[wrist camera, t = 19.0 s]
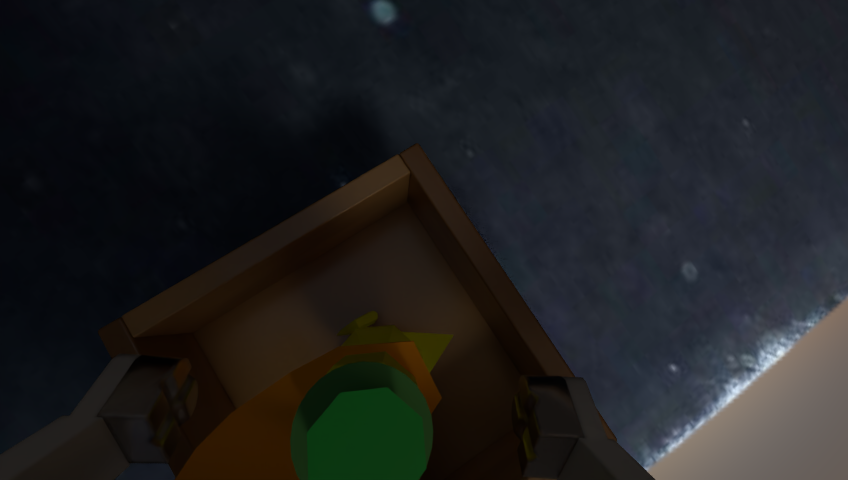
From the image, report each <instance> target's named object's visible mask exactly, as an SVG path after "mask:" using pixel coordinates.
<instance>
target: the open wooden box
mask: <svg viewBox="0 0 848 480" xmlns="http://www.w3.org/2000/svg"><path fill="white" fill-rule="evenodd" d="M371 311H375V312H376V313H377V314H378V318H377V320H376V321H375V323H374V324H372V325H370V326H368V327H374V326H386V325H395V326H396V327H397V328H398V329H399V330H400V331H401V332H414V333H432V334H449V335H453V337H452V339H451V340H450V342H449V343H448V345H447V347H446V348H445V350H444V351H443V353H442V354H441V356H440V358H439V359H438V361H437V362H436V364H435V365H434V367H433V369H432V370H431V372H430V375H431V377H432V379H433V381H434V383H435V385H436V387H437V389H438V391H439V393H440V395H441V397H442V399H441V400H440V402H439V403H438V405H437V406H436V408H435V409H434V411H433V412H432V414H431V417H432V425H433V442H432V449H431V453H430V456H429V460H428V464H427V466H426V467H427V469H426V470H425V471H424V473H423V474H422V476H421V477H420V479H419V480H557V479H544V478H529V477H522V473H521V467H520V462H519V457H518V452H517V449H518V446H519V443H520V441H521V440H520V439H519V438H518V437H517V436H516V435H515V433H514V431H513V425H512V416H511V411H512V401H513V398H514V395H515V394H516V393H518V392H519V391H520V390H519V385H518V383H519V380H520V377H521V376H522V375H548V376H561V377H575V376H574V374H573V373H572V371H571V370H570V368H569V367H568V365H567V364H566V362H565V361H564V359H563V358H562V356H561V355H560V353H559V352H558V350H557V349H556V347H555V346H554V344H553V343H552V341H551V340H550V338H549V337H548V336H547V334H546V333H545V331H544V330H543V328H542V327H541V325H540V324H539V322H538V321H537V319H536V318H535V316H534V315H533V313H532V312H531V310H530V309H529V307H528V306H527V304H526V303H525V301H524V300H523V298H522V297H521V295H520V294H519V292H518V291H517V289H516V288H515V286H514V285H513V283H512V282H511V280H510V279H509V277H508V276H507V274H506V273H505V271H504V270H503V268H502V267H501V265H500V264H499V263H498V261H497V260H496V258H495V257H494V255H493V254H492V252H491V251H490V249H489V248H488V246H487V245H486V243H485V242H484V240H483V239H482V237H481V236H480V234H479V233H478V231H477V230H476V228H475V227H474V225H473V224H472V222H471V221H470V219H469V218H468V216H467V215H466V213H465V212H464V210H463V209H462V207H461V206H460V204H459V203H458V201H457V200H456V198H455V197H454V195H453V194H452V192H451V191H450V190H449V188H448V187H447V185H446V184H445V182H444V181H443V179H442V178H441V176H440V175H439V173H438V172H437V170H436V169H435V167H434V166H433V164H432V163H431V161H430V160H429V158H428V157H427V155H426V154H425V152H424V151H423V149H422V148H421V146H420V145H419V144H418V143H416V144H414V145H413V146H411V147H409V148H407V149H406V150H404V151H402V152H401V153H400V154H399V155H398V154H397V155H395V156H393V157H392V158H390V159H388V160H387V161H385V162H383V163H381V164H380V165H378V166H376V167H375V168H373V169H371V170H369V171H368V172H366V173H364V174H363V175H361V176H359V177H358V178H356V179H354V180H352V181H351V182H349V183H347V184H346V185H344V186H342V187H341V188H339V189H337V190H335V191H334V192H332V193H330V194H329V195H327V196H325V197H323V198H322V199H320V200H318V201H317V202H315V203H313V204H312V205H310V206H308V207H306V208H305V209H303V210H301V211H300V212H298V213H296V214H295V215H293V216H291V217H289V218H288V219H286V220H284V221H283V222H281V223H279V224H277V225H276V226H274V227H272V228H271V229H269V230H267V231H266V232H264V233H262V234H260V235H259V236H257V237H255V238H254V239H252V240H250V241H249V242H247V243H245V244H243V245H242V246H240V247H238V248H237V249H235V250H233V251H231V252H230V253H228V254H226V255H225V256H223V257H221V258H220V259H218V260H216V261H214V262H213V263H211V264H209V265H208V266H206V267H204V268H203V269H201V270H199V271H197V272H196V273H194V274H192V275H191V276H189V277H187V278H185V279H184V280H182V281H180V282H179V283H177V284H175V285H174V286H172V287H170V288H168V289H167V290H165V291H163V292H162V293H160V294H158V295H157V296H155V297H153V298H151V299H150V300H148V301H146V302H145V303H143V304H141V305H139V306H138V307H136V308H134V309H133V310H131V311H129V312H128V313H126V314H124V315H123V316H122V317H120V318H118V319H116V320H114V321H113V322H111V323H109V324H108V325H106V326H104V327H102V328H101V329H99V330H98V334H99V336H100V338H101V339H102V341H103V343H104V345H105V347H106V349H107V351H108V352H109V354H110V356H111V358H112V359H113V358H114V357H116V356H117V355H118V354H137V355H150V356H164V357H177V358H188V359H189V362H190V364H191V366H192V368H191V370H190V372H189V374H190V375H191V376H192V377H194V378H195V379H196V381H197V384H198V398H197V402H196V407H195V409H194V411H193V413H192V415H191V418H190V419H189V420H187V421H186V422H185V423H184V424H182V425H181V426H180V427H179V428H180V432H181V435H182V436H181V438H180V440H179V442H178V444H177V447H176V449H175V451H174V453H173V455H172V457H171V459H170V461H169V463H168V464H169V466H170V468H171V470H172V472H173V474H174V475H175V477H177V476H178V474H179V473H180V471H181V470H182V468H183V467H184V465H185V464H186V462H187V461H188V459H189V458H190V456H191V455H192V453H193V452H194V450H195V449H196V448H197V447H198V446H199V445H200V444H201V443H202V442H203V441H204V440H205V439H206V438H207V437H208V436H209V435H210V434H211V433H212V432H213V431H214V430H215V429H216V428H217V427H218V426H219V425H220V424H221V423H222V422H223V421H224V420H225V419H226V418H227V417H228V416H229V415H230V414H231V413H232V412H233V411H235V410H236V409H237V408H239V407H240V406H242V405H243V404H245V403H246V402H248V401H249V400H251V399H252V398H254V397H255V396H256V395H258V394H259V393H261V392H262V391H264V390H265V389H267V388H268V387H270V386H271V385H273V384H274V383H275V382H277V381H278V380H280V379H281V378H283V377H284V376H286V375H287V374H289V373H290V372H292V371H294V370H295V369H297V368H299V367H301V366H303V365H305V364H307V363H309V362H311V361H312V360H314V359H316V358H318V357H320V356H322V355H324V354H326V353H328V352H329V351H331V350H333V349H335V348H337V347H339V346H342V344H343V343H344V342H345V341H346V340H347V339H348V337H349V336H350V335H351V334H349V335H342V336H338V335H337V334H338V332H339V331H340V330H342V329H343V328H344V327H345V326H347V325H348V324H349V323H351V322H352V321H353V320H355V319H357V318H359V317H360V316H362V315H364V314H366V313H368V312H371ZM597 412H598V414H599V417H600V420H601V422H602V425H603V427H604V430H605V433H606V435H607V438H608V439H613V440H615V441H616V442H617V439H616V437H615V435H614V434H613V432H612V431H611V429H610V428H609V426H608V425H607V423H606V422H605V420H604V419H603V417H602V416H601V414H600V413H599V411H598V410H597Z"/></svg>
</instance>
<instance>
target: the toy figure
mask: <svg viewBox="0 0 848 480" xmlns="http://www.w3.org/2000/svg"><path fill="white" fill-rule="evenodd" d="M377 318H378V314H377V313H376V312H375V311H371V312H368V313H366V314H364V315H362V316H360V317H359V318H357V319H355V320H353V321H352V322H351V323H349V324H348V325H347V326H345V327H344V328H343V329H342V330H340V331H339V332H338V334H337V335H338V336H342V335H349V334H351V335H350V336H349V337H348V339H347V340H346V341H345V342H344V343H343V344H342V346H339V347H337V348H335V349H333V350H331V351H329V352H328V353H326V354H324V355H322V356H320V357H318V358H316V359H314V360H312V361H311V362H309V363H307V364H305V365H303V366H301V367H299V368H297V369H295V370H294V371H292V372H290V373H289V374H287V375H286V376H284V377H283V378H281V379H280V380H278V381H277V382H275V383H274V384H273V385H271V386H270V387H268V388H267V389H265V390H264V391H262V392H261V393H259V394H258V395H256V396H255V397H254V398H252V399H251V400H249V401H248V402H246V403H245V404H243V405H242V406H240V407H239V408H237V409H236V410H235V411H233V412H232V413H231V414H230V415H229V416H228V417H227V418H226V419H225V420H224V421H223V422H222V423H221V424H220V425H219V426H218V427H217V428H216V429H215V430H214V431H213V432H212V433H211V434H210V435H209V436H208V437H207V438H206V439H205V440H204V441H203V442H202V443H201V444H200V445H199V446H198V447H197V448H196V449H195V450H194V452H193V453H192V455H191V456H190V458H189V459H188V461H187V462H186V464H185V465H184V467H183V468H182V470H181V471H180V473H179V474H178V476H177V477H176V479H175V480H419V479H420V477H421V476H422V474H423V473H424V471H425V470H426V469H427V467H426V466H427V464H428V460H429V456H430V453H431V449H432V442H433V425H432V417H431V414H432V412H433V411H434V409H435V408H436V406H437V405H438V403H439V402H440V400H441V399H442V397H441V395H440V393H439V391H438V389H437V387H436V385H435V383H434V381H433V379H432V377H431V375H430V372H431V370H432V369H433V367H434V365H435V364H436V362H437V361H438V359H439V358H440V356H441V354H442V353H443V351H444V350H445V348H446V347H447V345H448V343H449V342H450V340H451V339H452V337H453V335H449V334H432V333H414V332H401V331H400V330H399V329H398V328H397V327H396V326H395V325H386V326H374V327H368V326H370V325H372V324H374V323H375V321H376V320H377Z"/></svg>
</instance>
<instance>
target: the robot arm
mask: <svg viewBox="0 0 848 480" xmlns="http://www.w3.org/2000/svg"><path fill="white" fill-rule="evenodd" d="M191 368H192V366H191V364H190V362H189V359H188V358H177V357H164V356H150V355H137V354H118V355H117V356H116V357H114V358H113V359H112V360H111V361H110V362H109V364H108V365H107V366H106V368H105V369H104V370H103V372H102V373H101V374H100V376H99V377H98V378H97V380H96V381H95V382H94V384H93V385H92V386H91V388H90V389H89V390H88V392H87V393H86V394H85V396H84V397H83V398H82V400H81V401H80V402H79V404H78V405H77V406H76V408H75V409H74V410H73V412H72V413H71V414H70V416H61V417H60V418H58V419H56V420H55V421H53V422H52V423H50V424H48V425H47V426H45V427H44V428H42V429H40V430H39V431H37V432H36V433H34V434H32V435H31V436H29V437H28V438H26V439H24V440H23V441H21V442H20V443H18V444H16V445H15V446H13V447H12V448H10V449H8V450H7V451H5V452H4V453H2V454H0V480H114V479H115V478H116V477H117V476H119V475H120V474H121V473H122V472H123V471H124V470H125V469H126V468H127V467H129V465H130V464H129V463H165V464H168V463H169V461H170V459H171V457H172V455H173V453H174V451H175V449H176V447H177V444H178V442H179V440H180V438H181V436H182V435H181V432H180V428H179V427H180V426H181V425H182V424H184V423H185V422H186V421H187V420H189V419H190V418H191V415H192V413H193V411H194V409H195V407H196V402H197V398H198V384H197V381H196V379H195V378H194V377H192V376H191V375H190V374H189V372H190V370H191ZM518 385H519V390H520V391H519V392H518V393H516V394H515V395H514V398H513V401H512V411H511V416H512V425H513V431H514V433H515V435H516V436H517V437H518V438H519V439H520V440H521V441H520V443H519V446H518V449H517V452H518V457H519V462H520V467H521V473H522V477H529V478H544V479H557V480H655V479H654V478H653V477H652V476H651V475H650V474H649V473H648V472H647V471H646V470H645V469H644V468H643V467H642V466H641V465H640V464H639V463H638V462H637V461H636V460H635V459H634V458H633V457H631V456H630V455H629V454H628V453H627V452H626V451H625V450H624V449H623V448H622V447H621V446H620V445H619V444H618V443H617V442H616V441H615V440H613V439H608V438H607V435H606V433H605V430H604V427H603V425H602V422H601V420H600V417H599V414H598V412H597V409H596V407H595V404H594V401H593V399H592V396H591V394H590V391H589V388H588V386H587V383H586V381H585V380H584V379H583V378H581V377H561V376H548V375H522V376H521V377H520V380H519V383H518Z"/></svg>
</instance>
